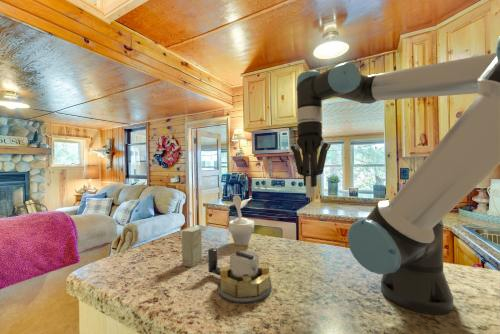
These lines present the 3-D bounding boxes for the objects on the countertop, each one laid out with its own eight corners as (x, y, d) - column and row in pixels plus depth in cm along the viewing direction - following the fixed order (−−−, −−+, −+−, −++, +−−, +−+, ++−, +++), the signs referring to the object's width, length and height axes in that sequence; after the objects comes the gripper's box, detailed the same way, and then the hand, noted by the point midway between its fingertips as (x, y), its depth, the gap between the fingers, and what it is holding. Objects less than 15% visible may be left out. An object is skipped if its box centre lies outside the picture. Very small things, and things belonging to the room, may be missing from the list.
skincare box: (192, 267, 78) (192, 231, 78) (181, 265, 79) (181, 230, 79) (202, 260, 84) (201, 227, 84) (191, 258, 85) (191, 226, 85)
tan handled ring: (278, 280, 65) (277, 257, 65) (248, 303, 55) (248, 275, 55) (224, 262, 78) (224, 243, 78) (192, 277, 68) (192, 255, 68)
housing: (282, 286, 65) (281, 252, 65) (245, 311, 53) (245, 270, 54) (244, 271, 75) (243, 241, 75) (206, 289, 64) (206, 255, 64)
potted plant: (240, 250, 94) (239, 189, 94) (223, 243, 102) (223, 187, 102) (261, 243, 102) (261, 187, 102) (244, 237, 111) (244, 186, 111)
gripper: (334, 121, 71) (335, 197, 71) (297, 126, 80) (298, 194, 79) (323, 117, 65) (324, 200, 65) (285, 123, 74) (286, 196, 74)
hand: (310, 196), depth 72 cm, fingers closed
